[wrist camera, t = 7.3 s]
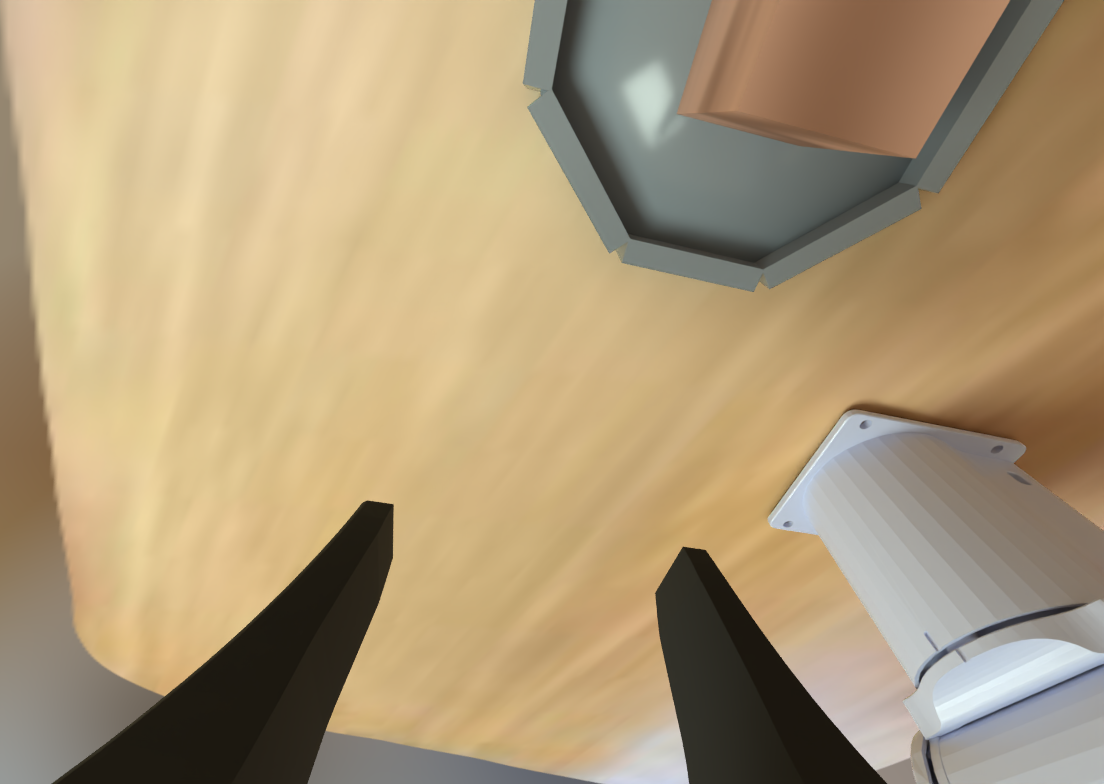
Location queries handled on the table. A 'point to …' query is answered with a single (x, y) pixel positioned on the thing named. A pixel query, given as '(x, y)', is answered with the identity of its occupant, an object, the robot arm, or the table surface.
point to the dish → (726, 146)
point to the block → (836, 69)
